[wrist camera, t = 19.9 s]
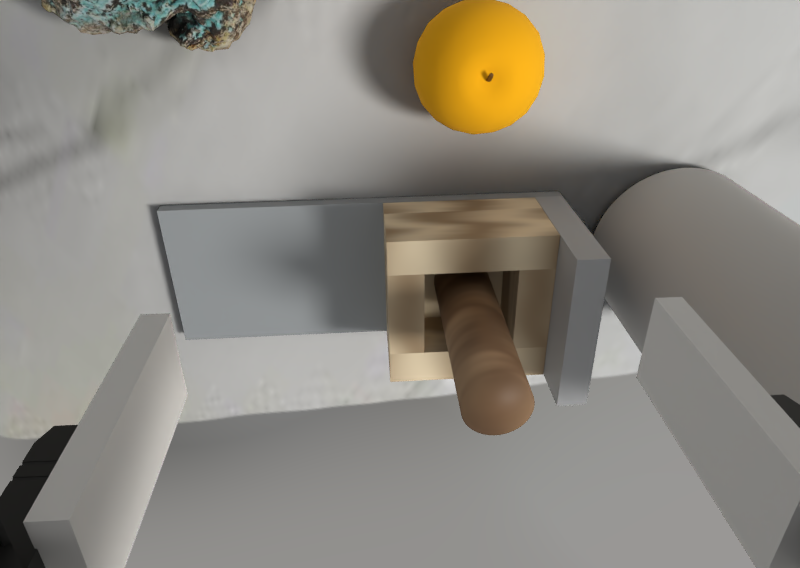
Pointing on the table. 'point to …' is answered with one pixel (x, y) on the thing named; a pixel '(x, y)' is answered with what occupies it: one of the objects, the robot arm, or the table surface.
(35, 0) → the table surface
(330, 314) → the grey corner bracket
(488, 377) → the dowel
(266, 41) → the table surface
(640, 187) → the cylinder vase
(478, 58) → the orange
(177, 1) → the mineral specimen
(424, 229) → the block
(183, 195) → the table surface
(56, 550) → the robot arm
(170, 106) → the table surface
